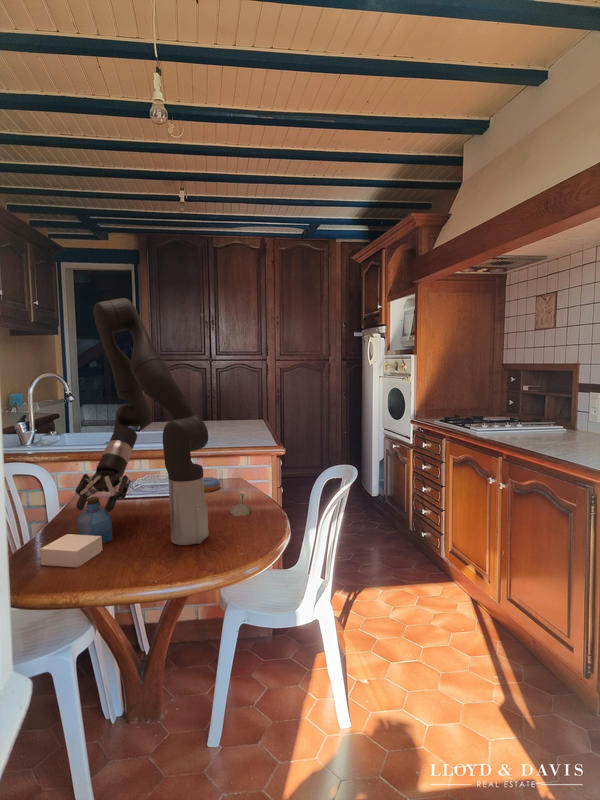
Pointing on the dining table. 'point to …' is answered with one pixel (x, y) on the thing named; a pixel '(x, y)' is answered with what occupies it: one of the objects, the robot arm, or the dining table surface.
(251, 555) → the dining table surface
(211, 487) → the doughnut
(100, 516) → the perfume bottle
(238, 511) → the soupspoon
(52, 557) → the plinth
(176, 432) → the robot arm
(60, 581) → the dining table surface
